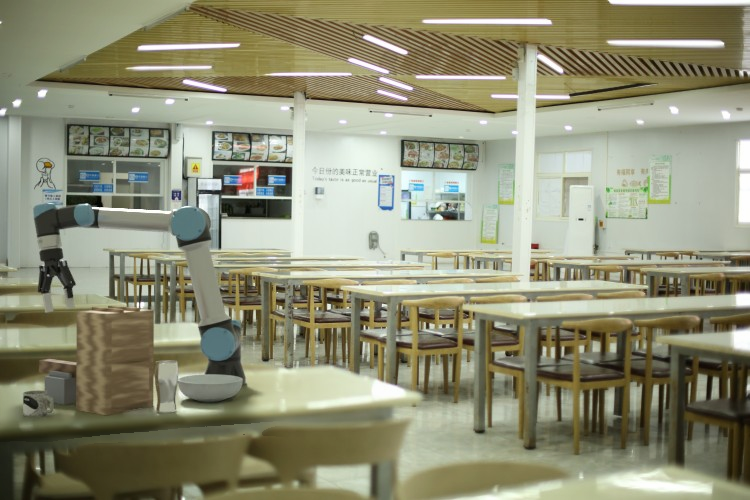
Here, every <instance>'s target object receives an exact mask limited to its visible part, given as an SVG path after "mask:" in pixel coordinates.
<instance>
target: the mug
mask: <svg viewBox="0 0 750 500" xmlns="http://www.w3.org/2000/svg"><path fill="white" fill-rule="evenodd" d="M22 395H23V396H22V401H23V402H22V403H23V404H22V408H23V409H22V416H23V417H25V418H27V417H28V418H37V417H38V418H39V417H45V416H47V415H48V414H52V413H53V412H54V410H55V409H54V408H55V403H54V400H53V398H52V397H49V396H47V391H45V390H39V389H38V390H28V391H24V392H23V393H22ZM47 400H49V401H50V402H49V409H48V402H47Z"/></svg>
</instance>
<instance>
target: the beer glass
mask: <svg viewBox="0 0 750 500" xmlns="http://www.w3.org/2000/svg"><path fill="white" fill-rule="evenodd" d="M154 363H155V364H154V365H155V367H154V385H155V390H156V396H157V399H156V400H157V404H156V409H155V412H156V413H159V414H170V413H176V412H177V404H176V395H177V391H178V390H177V388H178V379H179V366H178V365H179V364H178V361H177V360H169V359H167V360H166V359H165V360H158V361H155V362H154Z"/></svg>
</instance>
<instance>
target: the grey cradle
mask: <svg viewBox="0 0 750 500" xmlns="http://www.w3.org/2000/svg"><path fill="white" fill-rule="evenodd" d="M44 391H47V396H49V397H52V398H53V400H54V404H56V405H57V404H58V405H63V406H65V405H70V404H76V378H73V377H72V373H65V372H59V371H50V374H49V375H45V376H44ZM47 403H50V401H49V400H47Z"/></svg>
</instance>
